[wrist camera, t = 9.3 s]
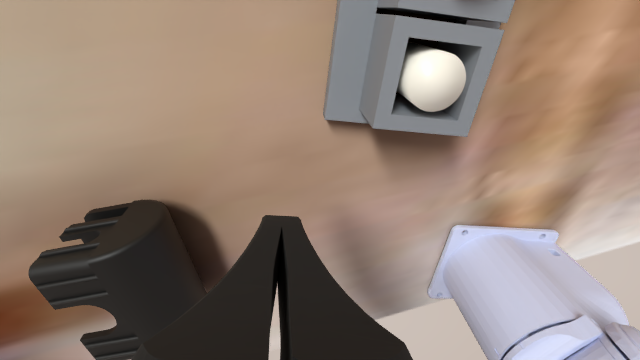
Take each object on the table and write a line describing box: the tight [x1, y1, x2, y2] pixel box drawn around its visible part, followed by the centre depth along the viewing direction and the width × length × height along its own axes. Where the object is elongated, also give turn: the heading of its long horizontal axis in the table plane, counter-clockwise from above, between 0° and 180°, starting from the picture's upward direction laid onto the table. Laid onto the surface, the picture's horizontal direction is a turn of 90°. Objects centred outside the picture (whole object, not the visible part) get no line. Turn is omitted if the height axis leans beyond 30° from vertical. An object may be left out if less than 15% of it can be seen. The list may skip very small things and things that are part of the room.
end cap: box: [29, 200, 207, 360], centre depth 22 cm, size 10×7×7 cm
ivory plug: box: [397, 42, 466, 112], centre depth 17 cm, size 3×3×5 cm
